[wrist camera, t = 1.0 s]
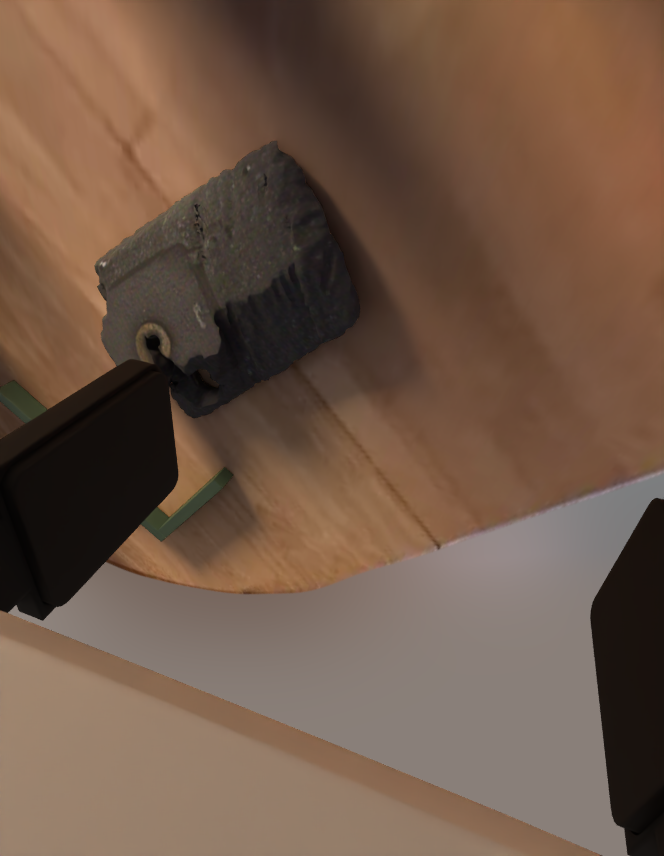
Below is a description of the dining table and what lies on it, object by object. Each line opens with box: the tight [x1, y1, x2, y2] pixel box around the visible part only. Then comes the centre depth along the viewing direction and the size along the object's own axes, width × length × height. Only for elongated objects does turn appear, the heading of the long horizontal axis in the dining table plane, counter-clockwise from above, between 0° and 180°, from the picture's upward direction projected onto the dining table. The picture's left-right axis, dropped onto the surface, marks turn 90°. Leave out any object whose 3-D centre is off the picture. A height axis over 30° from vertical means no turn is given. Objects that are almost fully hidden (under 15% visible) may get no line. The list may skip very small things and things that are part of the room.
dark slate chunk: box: [94, 141, 360, 418], centre depth 38 cm, size 15×22×5 cm
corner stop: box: [0, 380, 233, 542], centre depth 51 cm, size 23×13×2 cm, turn 48°
